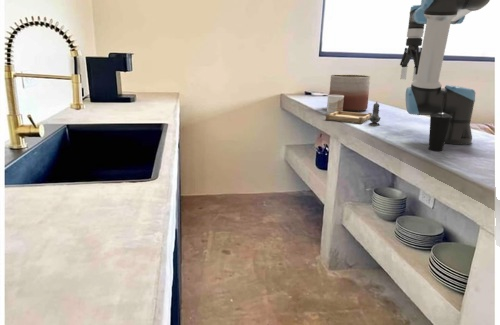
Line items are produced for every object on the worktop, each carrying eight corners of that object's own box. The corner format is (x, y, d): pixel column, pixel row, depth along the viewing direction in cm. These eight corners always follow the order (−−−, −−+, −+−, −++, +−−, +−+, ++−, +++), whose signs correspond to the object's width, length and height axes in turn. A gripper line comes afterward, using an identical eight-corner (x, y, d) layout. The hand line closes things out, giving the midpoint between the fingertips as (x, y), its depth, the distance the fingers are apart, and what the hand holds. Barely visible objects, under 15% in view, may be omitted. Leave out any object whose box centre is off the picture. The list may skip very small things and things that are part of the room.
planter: (361, 113, 231) (364, 77, 224) (322, 109, 243) (324, 75, 237) (371, 108, 252) (374, 75, 245) (335, 105, 264) (337, 74, 258)
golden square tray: (361, 123, 197) (362, 117, 196) (325, 119, 207) (326, 114, 206) (371, 118, 213) (371, 113, 212) (337, 115, 223) (338, 109, 222)
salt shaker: (379, 125, 193) (382, 102, 189) (368, 124, 195) (370, 101, 191) (380, 123, 198) (383, 101, 194) (368, 122, 200) (371, 100, 196)
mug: (322, 113, 231) (323, 95, 228) (334, 111, 238) (335, 93, 235) (336, 115, 223) (338, 96, 220) (347, 113, 231) (349, 95, 228)
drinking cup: (423, 150, 144) (431, 98, 138) (426, 146, 150) (434, 96, 144) (444, 153, 140) (453, 100, 134) (447, 149, 146) (456, 98, 140)
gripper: (434, 36, 177) (428, 81, 183) (410, 38, 201) (404, 78, 207) (419, 36, 177) (413, 81, 183) (396, 38, 201) (391, 78, 207)
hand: (408, 80), depth 195 cm, fingers open, 13 cm apart
